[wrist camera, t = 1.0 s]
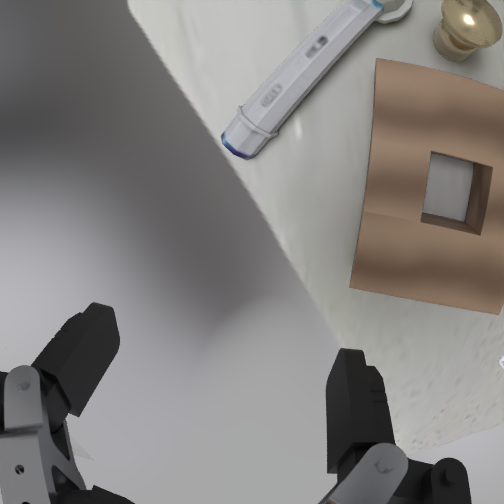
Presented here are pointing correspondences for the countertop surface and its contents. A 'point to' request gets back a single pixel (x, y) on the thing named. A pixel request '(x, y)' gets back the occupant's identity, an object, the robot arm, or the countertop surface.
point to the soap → (501, 360)
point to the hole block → (414, 187)
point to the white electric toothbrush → (304, 72)
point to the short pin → (466, 28)
